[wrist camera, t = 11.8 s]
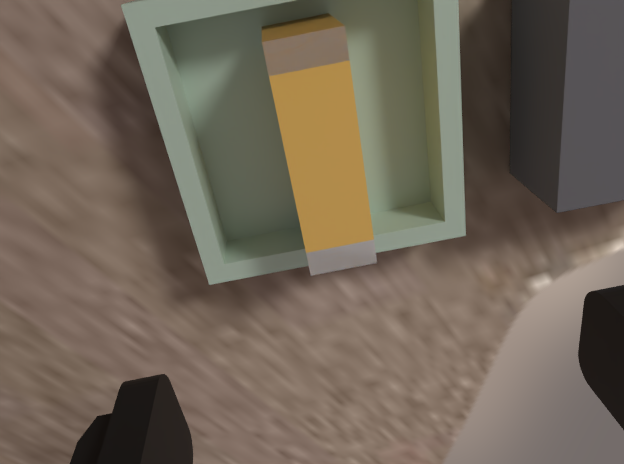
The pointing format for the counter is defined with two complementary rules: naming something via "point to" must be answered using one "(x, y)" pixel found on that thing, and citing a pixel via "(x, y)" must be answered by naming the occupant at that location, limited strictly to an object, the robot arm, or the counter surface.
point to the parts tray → (266, 132)
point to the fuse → (321, 139)
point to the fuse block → (568, 101)
